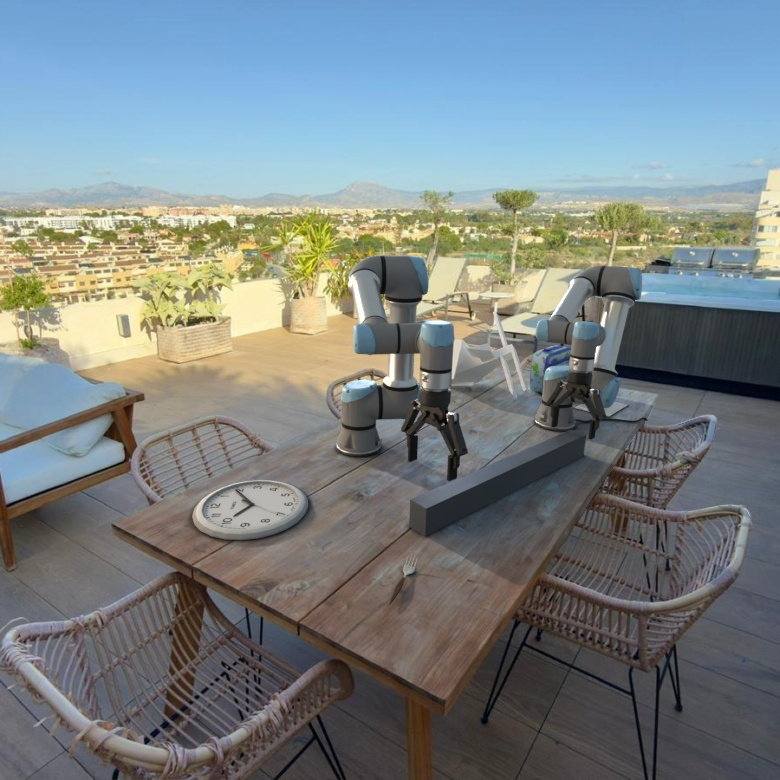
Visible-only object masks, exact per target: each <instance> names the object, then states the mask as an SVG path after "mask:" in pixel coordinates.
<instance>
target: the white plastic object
mask: <svg viewBox="0 0 780 780" xmlns="http://www.w3.org/2000/svg"><path fill="white" fill-rule="evenodd" d="M492 315H493V319H494V321H495V324H496V325H495V326H496V328H497V332H498V335H499V338H500V342H501V345H502V347H500V348H498V349H496V350H495V349H493V348H492V347H491V346H490V344H489V343H488V342H487V343H483V344H479V345H473V346H469V345H468V343H466V342H465V340H464V339H463V338H460V339H458V338H455V339H454V344H453V361H452V382H451V385H458V384H467V383H468V384H469V383H473V384H477V383H480V382H482V381H484V378H485V377H486V376H487V375H489V374H490V373H492V372H494V371H495V370H496V369H497V368H499V367H500V366H502V370H503V373H504V376H505V380H506V383H507V386H508V390H509V393H510V394H511V395H512V397H513V398H514V399H515V400H517V392H516V391H517V390H516V388H515V385H514V381H513V378H512V375H511V371H510V369H509V365H508V361H510V360H513V363H514V366H515V369H516V372H517V376H518V380H519V382H520V385H521V389H522V391H523V393H524V395H525V396H526V397H528V396H531V395H530V389H529V388H528V387H529V386H528V384H527V381H526V378H525V375H524V371H523V369H522V368H523V367H522V366H521V362H520V359H519V355H518V352H517V349H516V347H515V346H514V345H513V343H511V344H508V341H507V337H506V334H505V331H504V328H503V325H502V321H501V318H500V315H499V314H498V312H497V311H496V310H495V311H492Z"/></svg>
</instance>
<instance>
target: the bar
mask: <svg viewBox="0 0 780 780" xmlns="http://www.w3.org/2000/svg"><path fill="white" fill-rule="evenodd" d="M586 442H587V434H586V433H584V432H580V431H577V430H574V429H572V430H568V431H563V432H561V433H559V434H557V435H555V436H553V437H550V438H548V439H545V440H544V441H542V442H538V443H536V444H534V445H532V446H530V447H528V448H525V449H523V450H520V451H517V452H516V453H514V454H511V455H509V456H507V457H504V458H502V459H500V460H498V461H495V462H493V463H491V464H488V465H486V466H484V467H482V468H479V469H477V470H475V471H473V472H470V473H468V474H465V475H463V476H461V477H459V478H458V477H457V478H456V479H454V480H451V481H448V482H447V483H445V484H442V485H439V486H437V487H435V488H434V489H431V490H428V491H426V492H424V493H421V494H420V495H417V496H415V497H412V498H410V499H409V523H408V526H409V528H410V529H412V530H414V531H416V532H417V533H418V534H420V535H422V536H424V537H428V536H429V535H431V534H433V533H435V532H437V531H438V530H440V529H442V528H445V527H447V526H449V525H450V524H452V523H455V522H457V521H459V520H460V519H462V518H464V517H466V516H469V515H470V514H472V513H474V512H476V511H478V510H480V509H482V508H484V507H486V506H488V505H490V504H492V503H494V502H496V501H498V500H499V499H501V498H504V497H505V496H508V495H510V494H511V493H513V492H515V491H518V490H519V489H521V488H523V487H525V486H527V485H529V484H531V483H533V482H536V481H537V480H539V479H541V478H543V477H545V476H547V475H549V474H550V473H551V474H552V472H554V471H557V470H558V469H561V468H563V467H565V466H566V465H568V464H570V463H573V462H574V461H576V460H578V459H580V458H582V457H584V456H585V450H586V449H585V448H586Z"/></svg>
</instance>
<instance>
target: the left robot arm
mask: <svg viewBox="0 0 780 780" xmlns="http://www.w3.org/2000/svg"><path fill="white" fill-rule="evenodd" d="M428 273H429V272H428V268H427V264H426V262H425V259H424V258H422V257H421V256H419V255H418V256H416V255H410V254H409V255H371V256H367V257H365V258H363V259H362V260H359V261H358V262H357V263H356V264H354V266H353V267H352V269H351V270H350V272H349V273H348V277H347V289H348V292H349V295H351V296H352V297H353V303H354V308H355V314H356V319H357V323H356V324H354V326H353V328H352V348H353V352H354V353H355V354H357V355H366V356H367V355H368V356H374V355H387V375H385V377H383V379H382V384H377V382H376V380H372V379H358V380H353V381H351V382H348V383H346V384H345V385H343V387H342V388H341V397H340V402H341V428H340V431H339V435H338V437H337V440H336V450H337V451H338V453H340V454H342V455H344V456H347V457H354V458H364V457H369V456H373V455H376V454H377V453H379V452H380V451H381V449H382V442H383V438H380V436H379V432H378V429H377V421H379V420H380V421H381V420H404V421H403V423H402V426H401V427H400V432H402V433H405V436H406V447H407V462H408V463H411V462H414V461H418V449H419V435H417V434H418V432H419V431H420V430H421V429H422V427H423V426H424V425H425V424H427V425H430V426H432V427H434V428H436V430H437V431H438V432H440V434H441V437H442V438H443V441H444V443H445V445H446V447H447V449H448V451H449V454H448V455H447V469H446V470H447V471H446V481H447V482H452V481H454V480H456V479H458V469H459V468H460V465H461V457H463V456H465V455H468V453H469V450H468V447H467V444H466V440H465V436H464V434H463V430H462V427H461V423H460V413H458V412H454V413H453V412H449V406H450V404H451V397H452V389H451V387H452V384H451V382H452V361H453V344H454V339H456V338H455V326H454V324H453V323H452V322H450V321H445V320H436V319H435V320H423V319H422V320H419V321H417V310H418V308H417V307H418V305H420V304H421V302H422V301H423V296H425V295H427V294H428V292H429V286H430V285H429V275H428ZM381 295H384V300H385V302H386V303H387V304H388V305H389V311H388V312H389V317H387V313H386V310H385V307H384V306H385V305H384V302H383V298H382V296H381ZM418 354H419V359H420V360H419V381H418V379H417V378H416V377H415V376H414V370H415V369H414V367H415V355H418ZM418 382H419V383H418ZM419 414H420V415H419ZM418 415H419V416H418Z"/></svg>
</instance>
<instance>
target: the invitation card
mask: <svg viewBox="0 0 780 780" xmlns="http://www.w3.org/2000/svg"><path fill="white" fill-rule="evenodd" d="M628 406H629V404H627V403H623V402H618V401H614V403H613V404H612V406H611V407H609V408H604V410H605V413H606V416H607V417H608V418H610V417H611V416H613V415H614V414H616V413H617V412H619V411H621V410H623V409H624V408H626V407H628ZM595 408H596V407H595ZM573 409H575V410H581V411H584V412H587V413H590V412H589V410H588V408H587V407H586V405H585V404H578V405H575V406H574V407H573Z"/></svg>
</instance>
